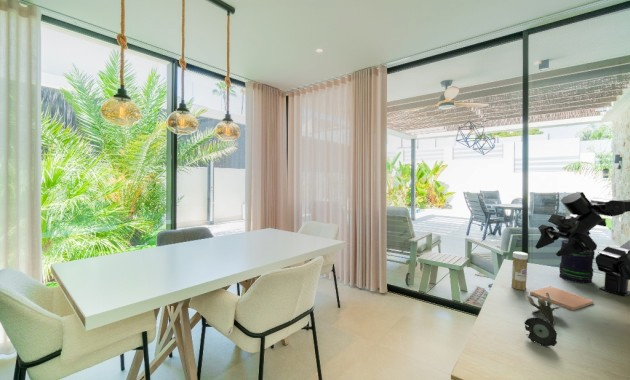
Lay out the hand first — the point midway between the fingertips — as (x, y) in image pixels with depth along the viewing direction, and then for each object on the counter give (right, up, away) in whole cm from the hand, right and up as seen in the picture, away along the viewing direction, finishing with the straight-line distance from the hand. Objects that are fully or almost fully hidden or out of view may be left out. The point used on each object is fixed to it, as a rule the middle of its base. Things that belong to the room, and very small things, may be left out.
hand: (546, 251), depth 97 cm
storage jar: (+22, -14, +11) cm, 28 cm away
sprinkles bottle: (-8, -15, +3) cm, 17 cm away
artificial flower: (-21, -16, -22) cm, 35 cm away
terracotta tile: (0, -15, -6) cm, 16 cm away
